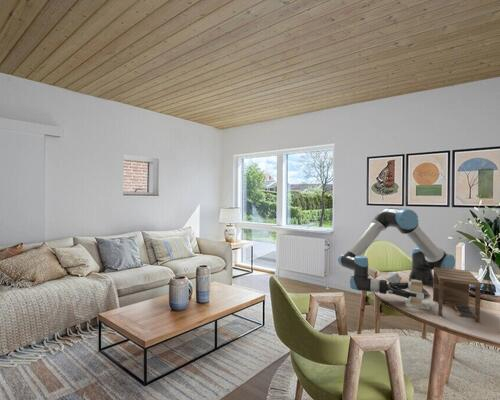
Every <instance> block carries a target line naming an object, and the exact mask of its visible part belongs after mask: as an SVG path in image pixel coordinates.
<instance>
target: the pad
mask: <svg viewBox="0 0 500 400" xmlns="http://www.w3.org/2000/svg"><path fill="white" fill-rule="evenodd" d="M404 300H405V301H404V302H405V304H404V305H405V307H409V308H410V307H411V308H416V309H423V310H431V308H430V305H429V302H428V301H424V300H422V306H418V305H412V304H411V302H410V298H405V297H404Z"/></svg>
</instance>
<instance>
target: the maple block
mask: <svg viewBox="0 0 500 400" xmlns="http://www.w3.org/2000/svg"><path fill="white" fill-rule="evenodd" d="M422 285H423V284H422V281H419V280H411V292H419V293H422ZM409 299H410V302H411V304H412V305H418V306H422V301H423V299H421V298H414V297H409Z"/></svg>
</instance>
